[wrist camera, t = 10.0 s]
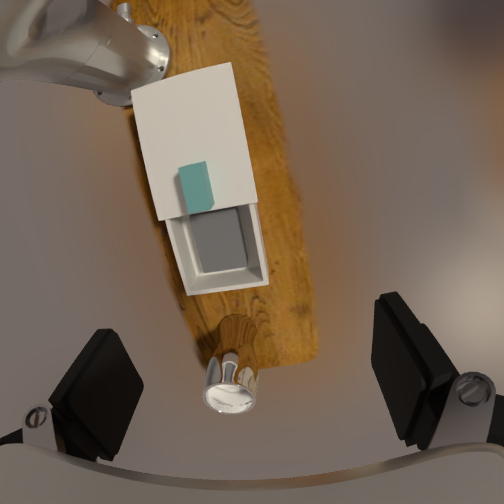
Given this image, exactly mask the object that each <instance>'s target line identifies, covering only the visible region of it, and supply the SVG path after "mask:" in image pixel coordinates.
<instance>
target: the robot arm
mask: <svg viewBox="0 0 504 504" xmlns="http://www.w3.org/2000/svg"><path fill="white" fill-rule="evenodd" d="M157 36H158V37H157ZM156 37H157V38H156ZM170 64H171V48H170V45H169V42H168V41H167V39H166V37H165V36H164V35H163V34H162V33H161V32H159V31H158V30H157V29H155V28H153V27H151V26H146V25H135V24H134V20H133V19H131V5H130V4H129V3H123V4H120V5H119V6H118V7H117V13H116V12H115V11H113V10H112V9H110V8H109V7H108V6H106V5H105V4H103V3H102V2H100V1H99V0H0V82H2V81H10V80H30V81H41V82H48V83H55V84H62V85H68V86H74V87H79V88H85V89H90V90H93V92H94V94H95V95H96V96H97V98H98V99H100V100H101V101H102V102H104V103H106V104H108V105H112V106H120V107H123V106H130V105H133V102H132V96H131V90H134V89H137V88H139V87H142V86H145V85H148V84H151V83H154V82H157V81H160V80H163V79H165V77H166V75H167V74H168V71H169V68H170ZM162 69H164V70H163V71H162ZM371 363H372V368H373V370H374V372H375V375H376V378H377V380H378V383H379V386H380V388H381V391H382V393H383V396H384V399H385V401H386V404H387V407H388V410H389V412H390V415H391V418H392V421H393V423H394V426H395V429H396V432H397V435H398V438H399V439H400V440H405V443H406V446H407V447H409V446H411V445H414V444H417V446H418V449H420V450H421V451H420V452H416V453H413V454H409V455H406V456H402V457H398V458H394V459H390V460H386V461H383V462H379V463H375V464H370V465H366V466H362V467H357V468H352V469H348V470H341V471H336V472H330V473H324V474H317V475H310V476H302V477H293V478H282V479H267V480H203V479H189V478H179V477H170V476H162V475H154V474H148V473H142V472H136V471H131V470H126V469H120V468H116V467H112V466H107V465H103V464H99V463H98V462H97V460H96V459H97V457H98V456H99V457H100V458H101V459H103V460H108V461H113V458H114V456H115V455H116V454H118V452H119V449H120V446H121V444H122V441H123V439H124V436H125V434H126V431H127V429H128V426H129V424H130V421H131V419H132V416H133V413H134V411H135V409H136V406H137V404H138V401H139V399H140V396H141V394H142V391H143V387H144V385H143V381H142V379H141V377H140V376H139V374H138V372H137V370H136V369H135V367H134V365H133V363H132V361H131V359H130V357H129V355H128V353H127V352H126V350H125V348H124V346H123V344H122V342H121V340H120V338H119V336H118V334H117V333H116V332H114V331H113V330H112V329H98V330H97V331H96V332H95V333H94V335H93V336H92V337H91V339H90V340H89V341H88V343H87V344H86V345H85V347H84V348H83V350H82V351H81V353H80V354H79V355H78V357H77V358H76V360H75V361H74V363H73V364H72V365H71V367H70V368H69V369H68V371H67V372H66V374H65V375H64V377H63V378H62V380H61V381H60V383H59V384H58V386H57V387H56V389H55V390H54V392H53V393H52V395H51V396H50V398H49V399H48V401H49V402H50V403H51V404H52V406H53V408H52V409H50V408H49V406H47V405H46V404H38V405H34V406H33V407H31V408H30V409H29V410H28V411H27V412H26V413H25V415H24V417H23V421H22V428H21V429H19V430H17V431H15V432H13V433H10V434H8V435H6V436H4V437H2V438H0V504H504V396H502V395H498V394H496V389H495V386H494V383H493V382H492V380H491V379H490V378H489V377H487V376H486V375H484V374H481V373H479V372H467V373H463V374H462V375H460V374H459V372H458V371H457V369H456V368H455V366H454V365H453V363H452V362H451V360H450V359H449V357H448V356H447V354H446V353H445V351H444V350H443V349H442V347H441V346H440V344H439V343H438V341H437V340H436V338H435V337H434V336H433V334H432V333H431V331H430V330H429V328H428V327H427V326H426V325H425V324H423V323H422V324H420V322H419V321H418V319H417V318H416V317H415V315H414V314H413V313H412V311H411V310H410V308H409V307H408V306H407V304H406V303H405V302H404V300H403V299H402V298H401V296H400V295H399V294H398V293H397V292H391V293H385V294H381V295H380V297H379V299H377V300H375V309H374V328H373V342H372V354H371Z"/></svg>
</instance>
